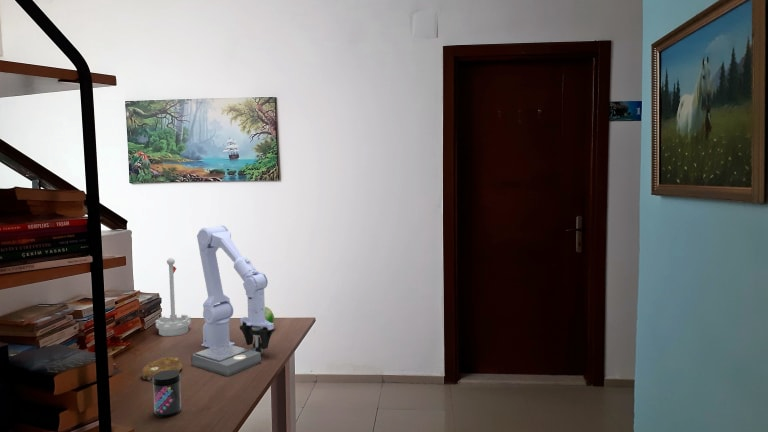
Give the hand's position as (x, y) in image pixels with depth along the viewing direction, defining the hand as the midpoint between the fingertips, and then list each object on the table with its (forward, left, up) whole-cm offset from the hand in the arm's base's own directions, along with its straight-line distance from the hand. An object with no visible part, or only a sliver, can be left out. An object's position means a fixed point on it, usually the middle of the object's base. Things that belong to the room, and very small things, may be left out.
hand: (257, 346), depth 185 cm
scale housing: (-2, -12, -3) cm, 13 cm away
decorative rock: (-13, -28, -3) cm, 31 cm away
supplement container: (+13, -44, -3) cm, 46 cm away
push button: (0, 0, -3) cm, 3 cm away
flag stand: (-48, 0, -3) cm, 48 cm away
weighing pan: (-4, -12, 0) cm, 13 cm away
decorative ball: (-19, +20, -3) cm, 28 cm away
